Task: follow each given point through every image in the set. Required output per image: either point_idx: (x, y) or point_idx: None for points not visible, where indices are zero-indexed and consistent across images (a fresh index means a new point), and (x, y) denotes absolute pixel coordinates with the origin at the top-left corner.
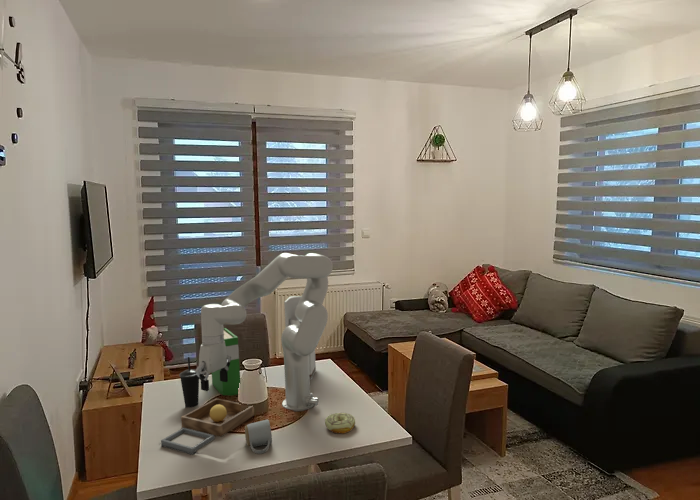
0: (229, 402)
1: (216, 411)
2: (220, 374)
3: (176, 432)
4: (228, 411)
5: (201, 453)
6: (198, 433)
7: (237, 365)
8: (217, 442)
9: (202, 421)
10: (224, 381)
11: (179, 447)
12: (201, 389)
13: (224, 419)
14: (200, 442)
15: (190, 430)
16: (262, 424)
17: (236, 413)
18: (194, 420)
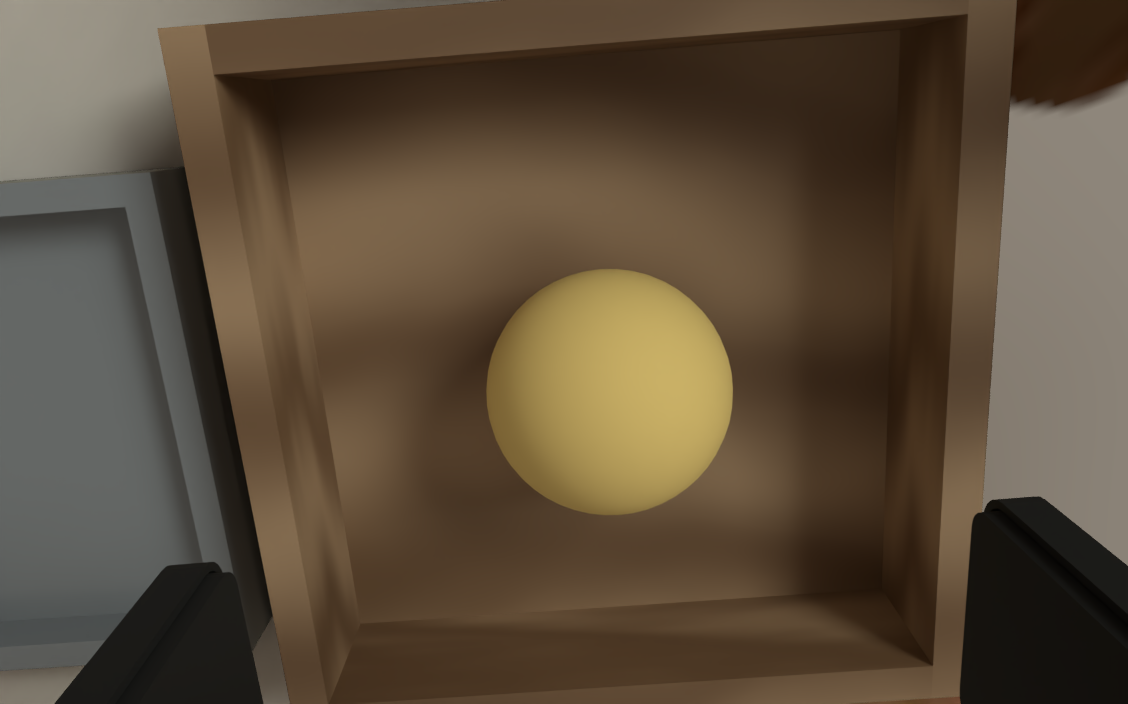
0: (950, 308)
1: (523, 473)
2: (1100, 659)
3: (6, 205)
4: (886, 258)
5: (36, 680)
6: (183, 456)
7: None
8: (270, 657)
9: (254, 455)
10: (965, 660)
11: None
12: (174, 575)
13: None
14: (54, 646)
15: (157, 324)
16: None
17: (875, 398)
18: (217, 319)
